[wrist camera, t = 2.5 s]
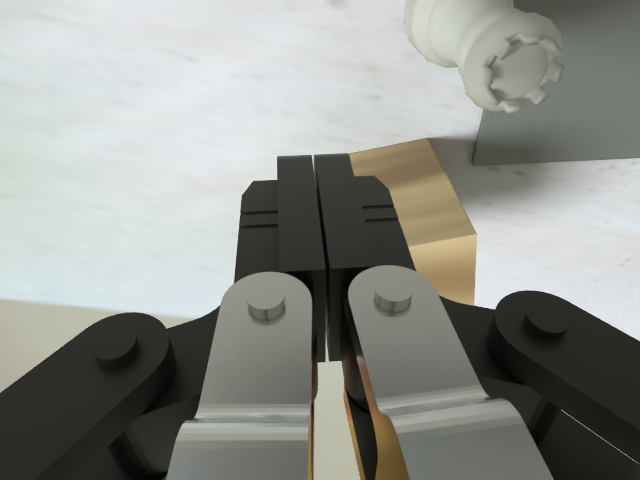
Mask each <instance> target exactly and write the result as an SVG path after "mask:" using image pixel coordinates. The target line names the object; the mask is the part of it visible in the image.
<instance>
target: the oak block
mask: <svg viewBox="0 0 640 480" xmlns="http://www.w3.org/2000/svg"><path fill="white" fill-rule="evenodd" d="M349 156H350V160H351V164H352V168H353V172H354V176H375V177H376V178H377V179H379V180H380V181H381V182H382V183H383V184H384V185H385V186H386V187H387V188H388V189H389V191H390V194H391V197H392V200H393V203H394V208H395V209H396V212H397V215H398V221H400V224H401V227H402V230H403V233H404V236H405V239H406V242H407V245H408V248H409V251H410V254H411V257H412V260H413V263H414V266H415V269H416V271H417V272H418V273H419V274H421V275H423V276H424V277H425V278H427V279H428V280H429V281H430V282H431V283H432V285H433V286H434V288H435V289H436V291H437V293H438V295H440V296H442V297H444V298H446V299H449V300H452V301H455V302H458V303H463V304H467V305H473V306H474V291H475V266H476V241H477V233H476V232H475V230H474V228H473V226H472V224H471V222H470V220H469V218H468V216H467V214H466V212H465V210H464V208H463V206H462V204H461V202H460V200H459V198H458V196H457V194H456V193H455V191H454V189H453V187H452V185H451V183H450V181H449V179H448V177H447V175H446V173H445V171H444V169H443V167H442V165H441V163H440V161H439V159H438V157H437V155H436V154H435V152H434V150H433V148H432V146H431V144H430V142H429V140H428V138H425V139H420V140H415V141H410V142H405V143H400V144H395V145H390V146H385V147H380V148H374V149H369V150H364V151H359V152H354V153H349Z"/></svg>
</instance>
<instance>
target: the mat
mask: <svg viewBox="0 0 640 480" xmlns="http://www.w3.org/2000/svg"><path fill="white" fill-rule="evenodd" d="M513 4H514V8H516V9H518V10H521V11H523V12H525V13H532V12H535V13H537V14H539V15H541V16H543V17H546V18H548V19H550V20H551V21H552V22H553V24H554V25H555V27H556V28H557V29H558V31H559V32H560V34H561V41H562V50H563V54H562V57H561V60H560V63H561V64H562V65H563V66H565V67H564V70H563V74H562V77H561V80H560V82H557V81H551V82H550V83H549V85H548V86H547V87H546V89H545V90H544V91H545V92H546V93H547V94H548V95H550V97H548V98H547V99H546V100H545V101H543V102H542V103H541V104H540V105H538V106H537V107H536V106H535V104H534V103H533V102H532V101H530V102H529V103H527V104H525V105H523V106H522V113H511V114H507V113H506V112H505V111H493V112H492V111H489V110H487V109H484V110H483V115H482V119H481V124H480V128H479V133H478V137H477V141H476V146H475V150H474V155H473V159H472V164H473V166H475V165H497V164H519V163H541V162H563V161H585V160H607V159H629V158H640V0H513Z"/></svg>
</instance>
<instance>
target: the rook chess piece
mask: <svg viewBox="0 0 640 480" xmlns="http://www.w3.org/2000/svg"><path fill="white" fill-rule="evenodd" d="M404 26H405V29H406V32H407V35H408V39H409V42H410V43H411V44H412V45H413V46H414V47H415V48H416V49H417V51H418V52H419V53H420V54H421V55H423V56H424V58H425V59H426V60H427V61H430V62H432V63H435V64H437V65H440V66H443V67H446V68H452V67H458V70H459V74H460V75H461V76H462V78H463V82H464V86H465V90H466V94H467V95H468V96H469V97H470V99H471V100H472V101H473V102H474V103H475V104H476V105H477V106H479V107H481V108H484V109H487V110H489V111H492V112H493V111H505V112H506V113H507V114H511V113H522V106H523V105H525V104H527V103H529V102H530V101H532V102H533V103H534V104H535V106H536V107H537V106H538V105H540V104H541V103H542V102H543V101H545V100H546V99H547V98H548V97H550V95H548V94H547V93H546V92H545V91H544V90H545V89H546V87H547V86H548V85H549V83H550V82H551V81H557V82H560V80H561V77H562V74H563V70H564V67H565V66H563V65H562V64H561V63H560V60H561V57H562V54H563V50H562V41H561V34H560V32H559V31H558V29H557V28H556V27H555V25H554V24H553V22H552V21H551V20H550V19H548V18H546V17H543V16H541V15H539V14H537V13H535V12H532V13H525V12H523V11H521V10H518V9H516V8H514V4H513V0H406V2H405V14H404Z"/></svg>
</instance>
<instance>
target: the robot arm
mask: <svg viewBox="0 0 640 480" xmlns="http://www.w3.org/2000/svg"><path fill="white" fill-rule="evenodd" d="M277 179H278V180H266V181H253V182H252V183H251V185H250V186H249V187H248V189H247V190H246V191H245V192H244V194H243V195H242V200H241V211H240V213H241V215H240V223H239V234H238V245H237V256H236V267H235V279H234V284H233V285H232V286H231V287H230V288H229V289H228V290H227V291H226V293H225V295H224V296H223V298H222V301H221V305H220V306H219V307H218V308H216V309H215V310H213V311H212V312H210V313H209V314H207V315H205V316H203V317H201V318H198V319H195V320H193V321H190V322H187V323H183V324H180V325H177V326H174V327H171V328H168V329H166V328H165V326H164V325H163V324H162V322H160V321H159V320H158V319H156V318H155V317H153V316H151V315H147V314H144V313H136V312H135V313H122V314H117V315H113V316H110V317H107V318H104V319H102V320H100V321H98V322H96V323H94V324H92V325H91V326H89V327H88V328H86V329H85V330H84V331H83V332H81V333H80V334H79V335H77V336H76V337H74V338H73V339H72V340H71V341H69V342H68V343H66V344H65V345H64V346H62V347H61V348H60V349H59V350H57V351H56V352H54V353H53V354H52V355H50V356H49V357H48V358H46V359H45V360H44V361H42V362H41V363H40V364H38V365H37V366H36V367H34V368H33V369H32V370H30V371H29V372H28V373H26V374H25V375H24V376H22V377H21V378H20V379H18V380H17V381H16V382H14V383H13V384H12V385H10V386H9V387H8V388H6V389H5V390H4V391H2V392H1V393H0V480H314V400H315V398H316V395H317V391H318V367H317V363H318V362H325V335H326V338H327V347H328V356H329V361H342V367H343V374H344V396H343V397H344V404H345V409H346V413H347V418H348V422H349V428H350V432H351V437H352V442H353V446H354V451H355V455H356V461H357V465H358V470H359V475H360V479H361V480H640V341H638V340H636V339H635V338H633V337H631V336H629V335H627V334H626V333H624V332H622V331H620V330H618V329H617V328H615V327H613V326H611V325H609V324H608V323H606V322H604V321H602V320H600V319H599V318H597V317H595V316H593V315H591V314H590V313H588V312H586V311H584V310H582V309H581V308H579V307H577V306H575V305H573V304H572V303H570V302H568V301H566V300H564V299H562V298H560V297H558V296H555V295H552V294H549V293H545V292H540V291H518V292H515V293H511V294H509V295H507V296H506V297H504V298H503V299H502V300H501V301H500V302H499V303H498V305H497V307H496V309H495V310H494V309H488V308H483V307H478V306H473V305H467V304H463V303H458V302H455V301H452V300H449V299H446V298H444V297H442V296H440V295H438V293H437V291H436V289H435V288H434V286H433V285H432V283H431V282H430V281H429V280H428V279H427V278H425V277H424V276H423V275H421V274H419V273H418V272H417V271H416V269H415V266H414V263H413V260H412V257H411V254H410V251H409V248H408V245H407V242H406V239H405V236H404V233H403V230H402V227H401V224H400V221H398V215H397V212H396V209H395V208H394V203H393V200H392V197H391V194H390V191H389V189H388V188H387V187H386V186H385V185H384V184H383V183H382V182H381V181H380V180H379V179H377V178H376V177H375V176H354V172H353V168H352V164H351V160H350V156H349V154H348V153H343V154H320V155H314V171H313V162H312V155H299V156H277ZM561 410H563V411H564V412H566V413H567V414H568V415H567V414H566V413H564V412H563V411H561ZM569 415H570V416H572V417H573V418H574V419H576V420H577V421H579V422H580V423H582V424H583V425H584V426H586V427H587V428H589V429H590V430H591V431H590V430H588V429H587V428H586V427H584V426H583V425H581V424H580V423H579V422H577V421H576V420H574V419H573V418H572V417H570V416H569ZM592 431H593V432H594V433H596V434H597V435H599V436H600V437H602V438H603V439H604V440H603V439H602V438H600V437H599V436H597V435H596V434H594V433H593V432H592ZM605 440H606V441H607V442H609V443H610V444H612V445H613V446H614V447H613V446H612V445H610V444H609V443H607V442H606V441H605ZM615 447H616V448H617V449H619V450H620V451H622V452H623V453H625V454H626V455H627V456H629V457H630V458H632V459H633V460H635V461H636V462H638V463H639V464H638V463H636V462H635V461H633V460H632V459H630V458H629V457H627V456H626V455H624V454H623V453H621V452H620V451H619V450H617V449H616V448H615Z"/></svg>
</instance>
